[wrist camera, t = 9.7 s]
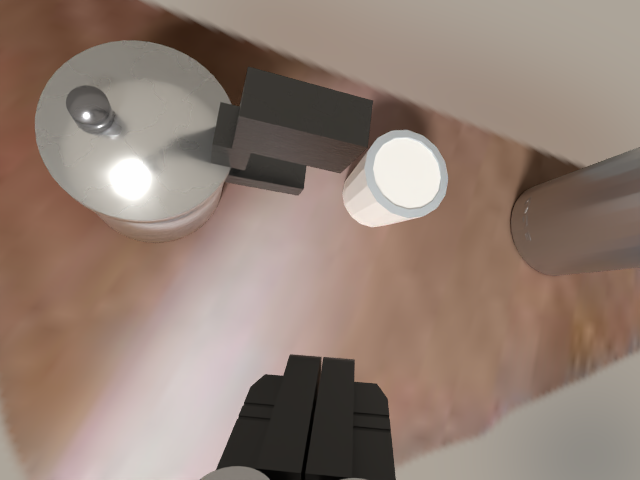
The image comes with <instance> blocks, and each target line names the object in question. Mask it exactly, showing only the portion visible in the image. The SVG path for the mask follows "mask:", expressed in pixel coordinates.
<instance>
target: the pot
mask: <svg viewBox="0 0 640 480" xmlns="http://www.w3.org/2000/svg"><path fill="white" fill-rule="evenodd" d="M305 173H306V165H302V164H297V163H293V162H288V161H284V160H280V159H275V158H271V157H266V156H262V155H257V154H253V153H251V154H250V157H249V160H248V163H247V166H246V169H245V171H244V170H240V169H235V168H231V170H230V172H229V174H228V176H227V178H226V180H225V182H227V183H233V184H238V185H244V186H249V187H255V188H260V189H266V190H271V191H276V192H282V193H287V194H293V195H299V194H300V193H301V192H302V190H303V189H304V181H305ZM222 188H223V185H222V186H221V187H220V189H219V190H218V191H217V192H216V194H215V195H213V196H212V197H211V198H210V199H209V200H208V201H207V202H206V203H204V204H203V205H202V206H200V207H199V208H197V209H196V210H194V211H192V212H190V213H188V214H186V215H184V216H181V217H178V218H176V219H172V220H168V221H164V222H157V223H130V222H123V221H119V220H115V219H111V218H108V217H105V216H103V215H100V214H98V213H96V212H95V213H96V214H97V215H98V216H99V217H100V218H101V219H102V220H103V221H104V222H105V223H106V224H108V225H109V226H110V227H111V228H112V229H114V230H115V231H117V232H118V233H120V234H122V235H124V236H126V237H129V238H131V239H134V240H138V241H143V242H151V243H163V242H170V241H174V240H178V239H181V238H183V237H186V236H188V235H190V234H192V233H193V232H195V231H197V230H198V229H199V228H200V227H202V226H203V225H204V224H205V223H206V222H207V221H208V220H209V219H210V217H211V216H212V214H213V213H214V211H215V209H216V208H217V206H218V203H219V200H220V197H221V193H222Z"/></svg>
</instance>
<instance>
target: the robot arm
mask: <svg viewBox="0 0 640 480" xmlns="http://www.w3.org/2000/svg"><path fill="white" fill-rule="evenodd" d="M511 231H512V236H513V240H514V243H515V245H516V247H517V250H518V252H519V253H520V255H521V256H522V258H523V259H524V260H525V261H526V262H527V263H528V264H529V265H530V266H531V267H532V268H534V269H535V270H537V271H538V272H541V273H543V274H546V275H552V276H558V275H569V274H579V273H590V272H601V271H611V270H621V269H631V268H640V147H639V148H636V149H633V150H631V151H628V152H625V153H623V154H620V155H617V156H615V157H612V158H609V159H606V160H604V161H601V162H598V163H596V164H593V165H590V166H588V167H585V168H582V169H580V170H577V171H574V172H572V173H569V174H566V175H563V176H560V177H558V178H555V179H552V180H550V181H547V182H544V183H542V184H539V185H536V186H534V187H531V188H530V189H528V190H526V191H525V192H524V193H523V194H522V195H521V196H520V197H519V198H518V200H517V201H516V203H515V205H514V208H513V211H512V217H511ZM354 365H355V360H354V359H341V358H329V357H324V358H323V364H322V370H321V357H316V356H303V355H290V356H289V359H288V362H287V366H286V369H285V372H284V376H278V375H267V374H265V375H264V376H263V377H262V378H260V379H259V380H258V381H257V382H256V383H255V384H253V385H252V386H251V387H250V390H249V392H248V395H247V397H246V399H245V402H244V406H242V409H241V411H240V414H239V418H238V419H237V421H236V423H235V426H234V428H233V430H232V433H231V435H230V438H229V440H228V442H227V445H226V447H225V450H224V452H223V454H222V457H221V459H220V462H219V464H218V466H217V469H216V470H215V471H213V472H211V473H209V474H207V475H206V476H204V477H203V478H201V479H200V480H396V478H395V468H394V458H393V448H392V438H391V428H390V419H389V408H388V399H387V397H386V396H385V394H384V393H383V392H382V390H381V389H380V388H379V386H378V385H377V384H373V383H362V382H354Z"/></svg>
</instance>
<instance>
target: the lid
mask: <svg viewBox="0 0 640 480" xmlns="http://www.w3.org/2000/svg"><path fill="white" fill-rule="evenodd" d="M372 105H373V101H372V100H369V99H365V98H361V97H358V96H354V95H350V94H347V93H343V92H339V91H336V90H332V89H328V88H325V87H321V86H317V85H314V84H310V83H306V82H303V81H299V80H296V79H292V78H288V77H285V76H281V75H277V74H274V73H270V72H266V71H263V70H259V69H255V68H252V67H248V69H247V74H246V79H245V83H244V88H243V93H242V97H241V102H240V107H239V106H235V105H232V104H231V102H230V100H229V98H228V96H227V94H226V92H225V91H224V89H223V88H222V86H221V84H220V83H219V82H218V81H217V80H216V78H215V77H214V76H213V75H212V74H211V73H210V72H209V71H208V70H207V69H206V68H205V67H204V66H202V65H201V64H200V63H198V62H197V61H196V60H194V59H193V58H191V57H189V56H188V55H186V54H184V53H182V52H180V51H178V50H175V49H173V48H170V47H167V46H164V45H161V44H156V43H152V42H145V41H117V42H109V43H105V44H101V45H98V46H95V47H92V48H90V49H87V50H85V51H83V52H81V53H79V54H77V55H76V56H74V57H73V58H71V59H70V60H68V61H67V62H66V63H64V64H63V65H62V66H61V67H60V68H59V69H58V70H57V71H56V72H55V73H54V75H53V76H52V77H51V79H50V80H49V81H48V83H47V85H46V86H45V88H44V90H43V92H42V94H41V97H40V99H39V102H38V106H37V111H36V116H35V133H36V141H37V145H38V148H39V152H40V155H41V157H42V159H43V161H44V164H45V166H46V167H47V169H48V170H49V172H50V174H51V175H52V177H53V178H54V179H55V180H56V181H57V183H58V184H59V185H60V186H61V187H62V188H63V189H64V190H65V191H66V192H67V193H68V194H70V195H71V196H72V197H73V198H74V199H75V200H76V201H78V202H79V203H81V204H82V205H83V206H85V207H86V208H88V209H90V210H92V211H94V212H96V213H98V214H100V215H103V216H105V217H108V218H111V219H115V220H119V221H123V222H130V223H157V222H164V221H168V220H172V219H176V218H178V217H181V216H184V215H186V214H188V213H190V212H192V211H194V210H196V209H197V208H199V207H200V206H202V205H203V204H204V203H206V202H207V201H208V200H209V199H210V198H211V197H212V196H213V195H215V194H216V192H217V191H218V190H219V189H220V187H221V186H222V185H223V183H224V181H225V180H226V178H227V176H228V174H229V172H230V170H231V168H235V169H240V170H244V171H245V169H246V166H247V163H248V160H249V157H250V154H251V153H253V154H257V155H262V156H266V157H271V158H275V159H280V160H284V161H288V162H293V163H297V164H302V165H306V166H310V167H315V168H319V169H324V170H328V171H333V172H337V173H341V172H342V171H344V170H345V169H346V168H347V167H348V166H349V165H350V164H351V163H352V162H353V161H354V160H355V159H356V158H357V157H358V156H359V155H360V154H361V153H362V152H363V151H364V150H365V149H366V148H367V147H368V139H369V130H370V122H371V113H372Z"/></svg>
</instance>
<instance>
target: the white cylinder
mask: <svg viewBox="0 0 640 480" xmlns="http://www.w3.org/2000/svg"><path fill="white" fill-rule="evenodd" d="M447 183H448V175H447V170H446V165H445V161H444V159H443V158H442V156H441V154H440V152H439V151H438V149H437V147H436V146H435V145H434V144H432V143H431V142H430V141H429V140H428V139H427V138H425V137H424V136H423V135H420V134H417V133H415V132H412V131H409V130H394V131H390V132H388V133H386V134H384V135H382V136H380V137H378V138H377V139H376V141H375V142H374V143H373V145H372V146H371V147H370V149H369V150H368V151H367V153H366V154H365V155H364V157H363V158H362V159H361V161H360V162H359V163H358V165H357V166H356V167H355V169H354V170H353V171H352V173H351V174H350V175H349V177H348V178H347V179H346V181H345V183H344V188H343V192H342V194H343V200H344V205H345V207H346V209H347V211H348V212H349V214H350V216H351V217H353V218H354V219H355V220H356V221H358V222H359V223H360V224H363V225H366V226H369V227H378V226H385V225H389V224H393V223H397V222H402V221H406V220H410V219H414V218H419V217H423V216H425V215H427V214H428V213H430V212H431V211H433V210H434V209H436V208H437V207H438V206H439V204H440V202H441V201H442V199H443V198H444V196H445V195H446V189H447Z"/></svg>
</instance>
